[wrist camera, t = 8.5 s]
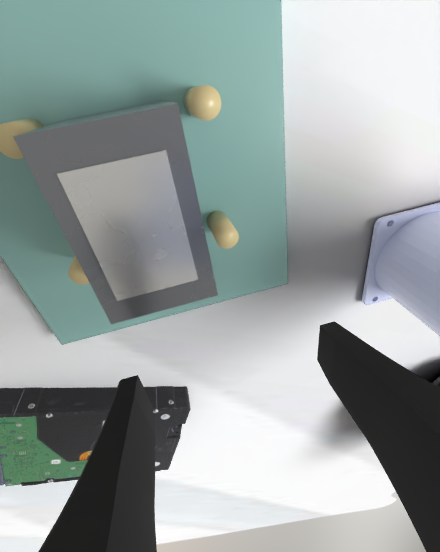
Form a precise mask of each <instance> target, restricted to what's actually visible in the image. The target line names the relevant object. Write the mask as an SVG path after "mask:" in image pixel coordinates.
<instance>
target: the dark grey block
mask: <svg viewBox="0 0 440 552" xmlns="http://www.w3.org/2000/svg"><path fill="white" fill-rule="evenodd" d="M13 138H14V140H15V141H16V143H17V145H18V147H19V149H20V151H21V153H22V155H23V157H24V159H25V161H26V162H27V164H28V166H29V168H30V170H31V172H32V174H33V176H34V178H35V180H36V182H37V183H38V185H39V187H40V189H41V191H42V193H43V195H44V197H45V199H46V201H47V203H48V204H49V206H50V208H51V210H52V212H53V214H54V216H55V218H56V220H57V222H58V224H59V225H60V227H61V229H62V231H63V233H64V235H65V237H66V239H67V241H68V243H69V245H70V246H71V248H72V250H73V252H74V254H75V256H76V258H77V260H78V262H79V264H80V266H81V267H82V269H83V271H84V273H85V275H86V277H87V279H88V281H89V283H90V285H91V287H92V288H93V290H94V292H95V294H96V296H97V298H98V300H99V302H100V304H101V306H102V308H103V309H104V311H105V313H106V315H107V317H108V319H109V321H110V323H111V324H115V323H118V322H122V321H126V320H129V319H133V318H137V317H140V316H144V315H148V314H151V313H155V312H159V311H162V310H166V309H170V308H173V307H177V306H181V305H184V304H188V303H192V302H195V301H199V300H203V299H206V298H210V297H214V296H217V295H218V292H217V288H216V283H215V278H214V273H213V269H212V264H211V259H210V254H209V249H208V245H207V240H206V235H205V230H204V226H203V221H202V216H201V211H200V207H199V202H198V197H197V192H196V188H195V183H194V178H193V173H192V168H191V164H190V159H189V154H188V149H187V145H186V140H185V135H184V130H183V126H182V121H181V116H180V111H179V107H178V103H174V102H170V101H166V100H162V101H157V102H152V103H147V104H142V105H137V106H132V107H127V108H122V109H117V110H112V111H107V112H102V113H97V114H92V115H87V116H82V117H77V118H72V119H67V120H63V121H60V122H57V123H53V124H50V125H47V126H44V127H41V128H38V129H35V130H32V131H29V132H25V133H22V134H19V135H16V136H13Z"/></svg>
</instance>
